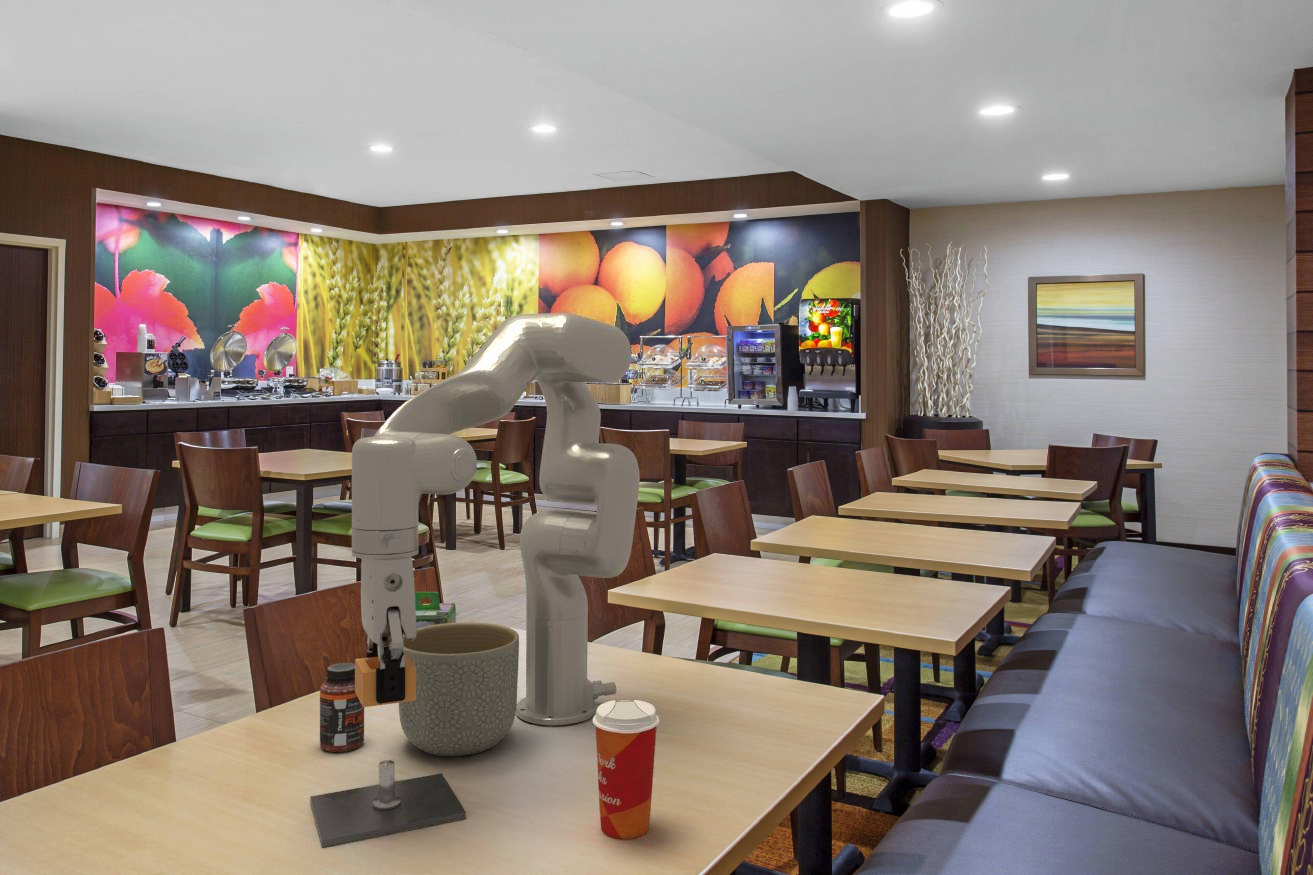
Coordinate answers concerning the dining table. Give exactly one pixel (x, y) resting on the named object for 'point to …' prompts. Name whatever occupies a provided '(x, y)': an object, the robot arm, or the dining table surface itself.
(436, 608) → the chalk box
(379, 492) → the robot arm
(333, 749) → the supplement bottle
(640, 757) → the paper cup
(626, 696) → the dining table surface
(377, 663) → the orange square collar
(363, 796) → the keeper plate
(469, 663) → the planter
